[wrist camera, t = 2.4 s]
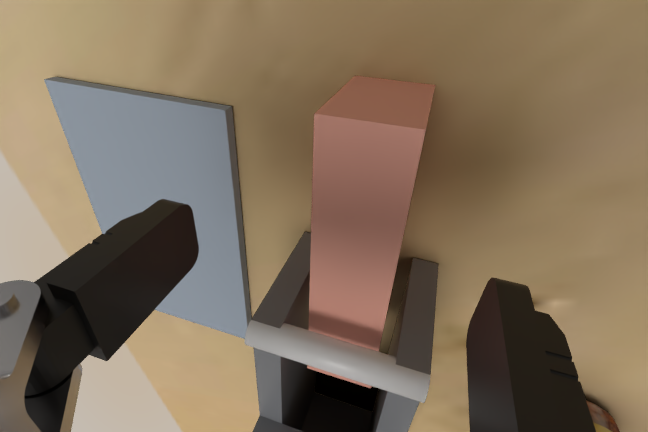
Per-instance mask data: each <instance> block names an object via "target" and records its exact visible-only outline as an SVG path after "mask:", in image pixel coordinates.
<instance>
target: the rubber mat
mask: <svg viewBox="0 0 648 432" xmlns="http://www.w3.org/2000/svg"><path fill="white" fill-rule="evenodd" d="M44 80H45V83H46V86H47V88H48V91H49V94H50V96H51V99H52V102H53V104H54V107H55V109H56V112H57V115H58V117H59V120H60V123H61V125H62V128H63V131H64V133H65V136H66V139H67V141H68V144H69V146H70V149H71V152H72V154H73V157H74V160H75V162H76V165H77V168H78V170H79V173H80V176H81V178H82V181H83V183H84V186H85V189H86V191H87V194H88V197H89V199H90V202H91V205H92V207H93V210H94V213H95V215H96V218H97V220H98V223H99V226H100V228H101V231H102V234H105V233H106V231H107V230H108V229H110V228H111V227H113V226H114V225H115V224H117V223H118V222H120V221H121V220H123V219H125V218H128V217H130V216H133V215H135V214H137V213H140V212H143V211H144V210H146V209H147V208H148V207H150V206H151V205H153V204H154V203H155V202H157V201H158V200H160V199H166V200H171V201H175V202H179V203H183V204H187V205H189V206H190V207H191V208H192V211H193V216H194V221H195V227H196V233H197V239H198V245H199V254H198V258H197V261H196V263H195V265H194V266H193V268H192V269H191V270H190V271H189V272H188V273H187V274H186V276H185V277H184V278H183V279H182V280H181V281H180V282H179V283H178V284H177V285H176V286H175V288H174V289H173V290H172V291H171V292H170V293H169V294H168V295H167V296H166V297H165V299H164V300H163V301H162V302H161V303H160V304H159V305H158V306H157V307H156V308H155V309H154V310H157V311H160V312H163V313H166V314H169V315H173V316H176V317H179V318H182V319H185V320H188V321H191V322H194V323H197V324H200V325H203V326H207V327H210V328H213V329H216V330H219V331H222V332H225V333H228V334H231V335H234V336H238V337H241V338H244V339H245V334H246V330H247V327H248V325H249V323H250V321H251V308H250V297H249V286H248V275H247V264H246V253H245V242H244V231H243V220H242V209H241V198H240V187H239V176H238V165H237V155H236V144H235V133H234V122H233V111H232V106H227V105H221V104H215V103H209V102H203V101H197V100H191V99H185V98H179V97H173V96H168V95H162V94H156V93H150V92H144V91H138V90H132V89H126V88H120V87H114V86H108V85H102V84H96V83H90V82H84V81H78V80H72V79H66V78H60V77H52V78H48V79H44Z"/></svg>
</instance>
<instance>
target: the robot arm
mask: <svg viewBox="0 0 648 432" xmlns="http://www.w3.org/2000/svg"><path fill="white" fill-rule="evenodd" d="M198 254H199V245H198V239H197V233H196V227H195V221H194V216H193V211H192V208H191V207H190V206H189V205H187V204H183V203H179V202H175V201H171V200H166V199H160V200H158V201H157V202H155V203H154V204H153V205H151V206H150V207H148V208H147V209H146V210H144V211H143V212H140V213H137V214H135V215H133V216H130V217H128V218H125V219H123V220H121V221H120V222H118V223H117V224H115V225H114V226H113V227H111V228H110V229H108V230H107V231H106V233H105V234H101V235H100V236H99V237H97V238H96V239H94V240H93V242H92V244H90V243H89V244H87V245H86V246H85V247H83V248H82V249H80V250H79V251H78V252H76V253H75V254H73V255H72V256H71V257H69V258H68V259H66V260H65V261H64V262H62V263H61V264H59V265H58V266H56V267H55V268H54V269H52V270H51V271H50V272H48V273H47V274H45V275H44V276H43V277H41V278H40V279H38V280H37V281H35V282H34V283H33V282H30V281H24V280H16V281H9V282H4V283H1V284H0V432H71V427H72V423H73V417H74V412H75V407H76V402H77V396H78V391H79V386H80V381H81V376H82V366H81V364H80V363H81V362H82V361H83V360H84V359H85V358H86V357H87V356H88V355H91V356H94V357H97V358H100V359H102V360H105V361H108V360H109V359H110V358H111V356H112V355H113V354H114V353H115V352H116V351H117V350H118V349H119V348H120V347H121V346H122V344H123V343H124V342H125V341H126V340H127V339H128V338H129V337H130V336H131V335H132V334H133V332H134V331H135V330H136V329H137V328H138V327H139V326H140V325H141V324H142V323H143V321H144V320H145V319H146V318H147V317H148V316H149V315H150V314H151V313H152V312H153V311H154V309H155V308H156V307H157V306H158V305H159V304H160V303H161V302H162V301H163V300H164V299H165V297H166V296H167V295H168V294H169V293H170V292H171V291H172V290H173V289H174V288H175V286H176V285H177V284H178V283H179V282H180V281H181V280H182V279H183V278H184V277H185V276H186V274H187V273H188V272H189V271H190V270H191V269H192V268H193V266H194V265H195V263H196V261H197V258H198ZM466 348H467V372H468V396H469V419H470V432H596V429H595V426H594V423H593V420H592V417H591V414H590V411H589V408H588V405H587V402H586V399H585V396H584V392H583V389H582V386H581V383H580V382H578V374H577V371H576V368H575V365H574V362H572V356H571V352H570V349H569V346H568V343H567V340H566V337H565V335H564V333H563V332H562V331H561V330H560V328H559V327H558V326H557V324H556V323H555V322H554V320H553V319H552V318H551V317H550V315H549V314H546V313H542V312H538V311H535V309H534V305H533V302H532V298H531V294H530V290H529V288H528V287H527V286H526V285H522V284H518V283H514V282H509V281H505V280H501V279H497V278H491V279H490V280H489V281H488V283H487V285H486V287H485V289H484V292H483V294H482V296H481V298H480V301H479V303H478V305H477V307H476V309H475V312H474V314H473V316H472V318H471V321H470V324H469V328H468V333H467V342H466Z"/></svg>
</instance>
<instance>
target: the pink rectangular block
mask: <svg viewBox="0 0 648 432" xmlns="http://www.w3.org/2000/svg"><path fill="white" fill-rule="evenodd" d="M434 90H435V85H431V84H423V83H414V82H406V81H397V80H389V79H380V78H372V77H363V76H354V77H353V78H352V79H351V80H350V81H349V82H348V83H346V84H345V85H344V86H343V87H342V88H341V89H340V90H339V91H338V92H337V93H336V94H335V95H334V96H333V97H331V98H330V99H329V100H328V101H327V102H326V103H325V104H324V105H323V106H322V107H321V108H320V109H319V110H318V111H316V112H315V113H314V141H313V179H312V216H311V253H310V290H309V327H308V330H310V331H313V332H316V333H319V334H323V335H326V336H329V337H333V338H336V339H339V340H342V341H346V342H349V343H352V344H356V345H359V346H362V347H365V348H369V349H372V350H375V351H379V348H380V343H381V339H382V334H383V329H384V325H385V320H386V315H387V311H388V306H389V301H390V297H391V292H392V287H393V283H394V278H395V273H396V268H397V264H398V259H399V254H400V250H401V245H402V240H403V236H404V231H405V226H406V221H407V217H408V212H409V207H410V203H411V198H412V193H413V189H414V184H415V179H416V174H417V170H418V165H419V160H420V156H421V151H422V146H423V142H424V137H425V132H426V127H427V123H428V118H429V113H430V109H431V104H432V99H433V95H434ZM307 368H308V369H311V370H315V371H318V372H321V373H324V374H327V375H330V376H333V377H336V378H340V379H343V380H346V381H349V382H352V383H355V384H358V385H362V386H365V387H368V388H371V386H370V385H367V384H364V383H361V382H358V381H355V380H352V379H349V378H345V377H342V376H339V375H336V374H333V373H330V372H327V371H324V370H321V369H318V368H315V367H312V366H309V365H307Z"/></svg>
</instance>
